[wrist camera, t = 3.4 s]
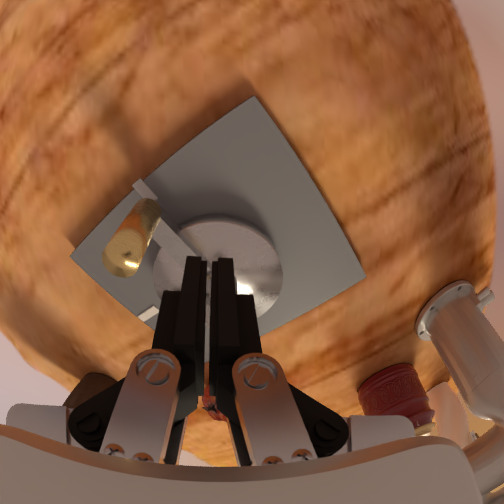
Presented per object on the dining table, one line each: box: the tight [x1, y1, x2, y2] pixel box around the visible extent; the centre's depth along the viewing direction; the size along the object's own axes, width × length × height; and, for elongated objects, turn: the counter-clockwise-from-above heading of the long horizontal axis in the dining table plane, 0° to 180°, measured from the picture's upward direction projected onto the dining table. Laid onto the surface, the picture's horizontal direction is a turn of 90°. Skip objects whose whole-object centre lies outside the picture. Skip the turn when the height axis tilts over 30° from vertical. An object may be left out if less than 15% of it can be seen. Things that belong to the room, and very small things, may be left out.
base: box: [70, 96, 366, 363], centre depth 28 cm, size 24×22×2 cm
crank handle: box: [102, 198, 283, 327], centre depth 22 cm, size 16×12×9 cm
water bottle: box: [426, 382, 479, 449], centre depth 44 cm, size 10×9×28 cm
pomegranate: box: [202, 384, 227, 422], centre depth 38 cm, size 7×7×10 cm
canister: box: [358, 363, 435, 436], centre depth 40 cm, size 13×13×18 cm
